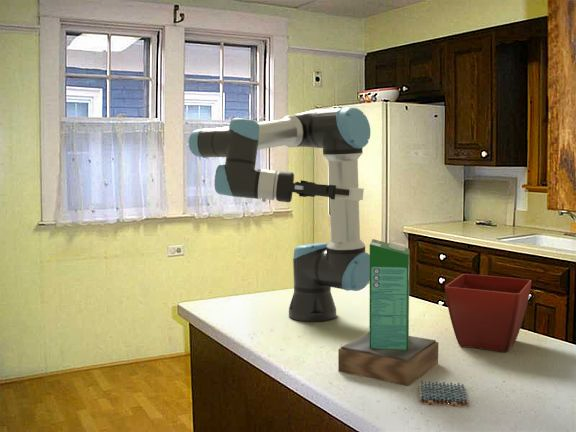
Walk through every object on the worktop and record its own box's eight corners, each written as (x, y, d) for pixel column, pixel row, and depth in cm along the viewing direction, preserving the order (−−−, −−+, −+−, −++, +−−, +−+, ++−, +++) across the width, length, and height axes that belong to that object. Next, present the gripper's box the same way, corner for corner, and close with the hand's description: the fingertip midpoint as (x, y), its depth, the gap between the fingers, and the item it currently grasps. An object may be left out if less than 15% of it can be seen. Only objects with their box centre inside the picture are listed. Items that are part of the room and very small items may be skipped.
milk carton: (408, 350, 157) (409, 244, 154) (369, 348, 159) (369, 243, 156) (408, 339, 166) (409, 239, 163) (372, 337, 168) (372, 238, 165)
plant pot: (517, 358, 169) (519, 293, 167) (442, 348, 178) (443, 286, 176) (530, 339, 185) (532, 279, 183) (461, 330, 195) (462, 273, 193)
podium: (338, 371, 161) (338, 346, 160) (372, 351, 176) (372, 329, 175) (408, 385, 151) (408, 359, 150) (438, 363, 166) (438, 340, 165)
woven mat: (418, 406, 140) (418, 397, 140) (417, 388, 150) (418, 380, 150) (470, 410, 138) (470, 400, 138) (466, 391, 148) (466, 382, 148)
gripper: (279, 201, 180) (358, 209, 179) (270, 200, 155) (362, 210, 154) (282, 173, 180) (361, 181, 179) (274, 168, 155) (366, 177, 154)
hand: (362, 195), depth 166 cm, fingers open, 13 cm apart
